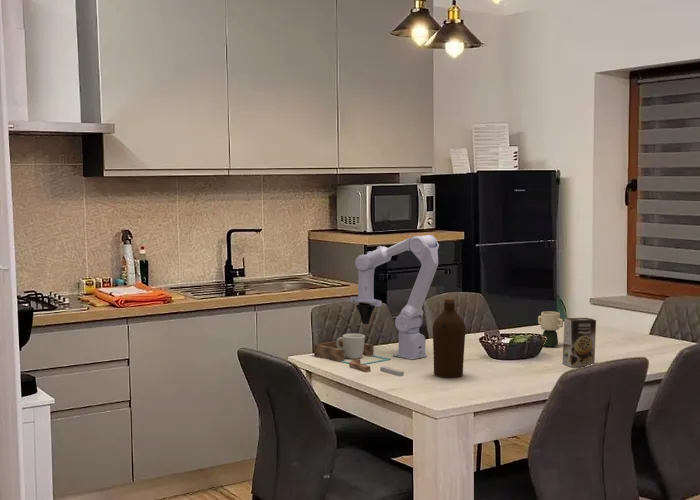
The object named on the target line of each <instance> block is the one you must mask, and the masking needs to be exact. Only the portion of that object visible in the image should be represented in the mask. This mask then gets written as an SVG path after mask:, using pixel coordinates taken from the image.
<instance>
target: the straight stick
mask: <svg viewBox="0 0 700 500" xmlns="http://www.w3.org/2000/svg"><path fill="white" fill-rule="evenodd" d="M379 369H380V370H379V371H381V372H383V373H387V374H390V375H391V374H392V375H395V376H398V377H402V376H403V377H404V375H405V373H404V372H405V371H402V370H399V369H395V368H391V367H388V366H384V365H383V366H380V367H379Z"/></svg>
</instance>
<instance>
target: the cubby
mask: <svg viewBox="0 0 700 500" xmlns="http://www.w3.org/2000/svg"><path fill="white" fill-rule="evenodd" d="M336 341H337V340H334V341H328V342H322V343H321V342H320V343H316V344H314V345H313V346H314V347H313V349H314V351H313V355H314V356H315V357H319V358H323V359H326V360H327V359H328V360H332V361H335V362H340V361H345V356H344V350H341V349H338V348H337V345H336ZM339 346H340V347H341V348H342V347H343V342H342V340H340V341H339ZM374 347H375V345H374V344H370V343H367V342H366V343H365V342H364V350H363V356H367V357H373V356H372V355H375V354H374V352H375V351H374Z"/></svg>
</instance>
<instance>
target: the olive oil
mask: <svg viewBox="0 0 700 500" xmlns="http://www.w3.org/2000/svg"><path fill="white" fill-rule="evenodd" d="M443 305H444V306H443V307H444V308H443V311H442V312H440V314H439V315H438V316H437V317H436V318H435V319H434V322H433V324H432V346H433V375H434V376H436V377H439V378H447V379H448V378H449V379H452V378H453V379H454V378H460V377H462V376H463V375H464V357H465V344H466V343H465V341H466V329H467V328H466V323H465V321H464V320H463V318H462V317H461V316H460V315H459V314H458V312H457V311H456V310H455V307H456V306H455V305H456V303H455V298H454V297H445V298H444V303H443Z"/></svg>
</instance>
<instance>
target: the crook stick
mask: <svg viewBox="0 0 700 500" xmlns="http://www.w3.org/2000/svg"><path fill="white" fill-rule="evenodd" d="M348 362H349V368H351V369H356V370H358V371H362V372H365V373H369V372H371V370H372V369H371V366H370V365H368V364H366V365H364V364H362V363H361V359H360V358H358V359H352V360H351V361H348Z"/></svg>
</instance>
